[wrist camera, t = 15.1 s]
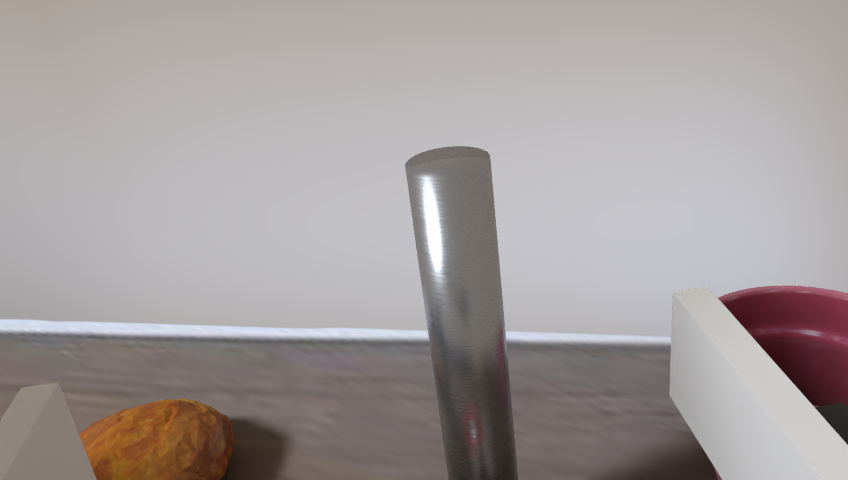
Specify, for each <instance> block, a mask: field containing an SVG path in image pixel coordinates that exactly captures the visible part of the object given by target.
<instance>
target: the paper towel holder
mask: <svg viewBox="0 0 848 480" xmlns="http://www.w3.org/2000/svg"><path fill="white" fill-rule="evenodd" d="M405 167H406V174H407V182H408V189H409V196H410V204H411V211H412V218H413V226H414V233H415V239H416V247H417V254H418V262H419V269H420V276H421V284H422V291H423V298H424V305H425V312H426V320H427V327H428V334H429V342H430V349H431V356H432V363H433V371H434V378H435V385H436V392H437V400H438V407H439V414H440V421H441V429H442V436H443V443H444V450H445V458H446V465H447V472H448V479H449V480H518V473H517V462H516V450H515V438H514V427H513V415H512V404H511V392H510V381H509V369H508V358H507V346H506V335H505V323H504V312H503V300H502V289H501V277H500V266H499V254H498V242H497V231H496V219H495V209H494V197H493V185H492V173H491V162H490V155H489V154H488V153H487V152H486V151H484V150H482V149H479V148H474V147H465V146H462V147H461V146H456V147H444V148H438V149H433V150H429V151H426V152H423V153H420V154H418V155H415V156H414V157H412V158H411V159H409V160H408V161H407V163H406V165H405Z"/></svg>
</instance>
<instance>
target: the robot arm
mask: <svg viewBox="0 0 848 480" xmlns="http://www.w3.org/2000/svg"><path fill="white" fill-rule="evenodd" d="M671 333H672V334H671V363H670V394H669V395H670V397H671V398H672V400H673V402H674V403H675V405H676V406H677V408H678V410H679V411H680V413H681V414H682V416H683V418H684V419H685V421H686V422H687V424H688V426H689V427H690V429H691V430H692V432H693V434H694V435H695V437H696V438H697V440H698V442H699V443H700V445H701V446H702V448H703V450H704V451H705V453H706V454H707V456H708V458H709V459H710V461H711V462H712V464H713V466H714V467H715V469H716V470H717V472H718V474H719V475H720V477H721V478H722V480H848V406H846V405H844V404H843V403H837V404H830V405H824V406H817V407H814V406H813V405H812V404H811V403H810V402H809V401H808V400H807V398H806V397H805V396H804V395H803V394H802V393H801V392H800V390H799V389H798V388H797V387H796V386H795V385H794V384H793V383H792V381H791V380H790V379H789V378H788V377H787V376H786V375H785V374H784V372H783V371H782V370H781V369H780V368H779V367H778V366H777V364H776V363H775V362H774V361H773V360H772V359H771V358H770V357H769V355H768V354H767V353H766V352H765V351H764V350H763V349H762V348H761V346H760V345H759V344H758V343H757V342H756V341H755V340H754V338H753V337H752V336H751V335H750V334H749V333H748V332H747V331H746V329H745V328H744V327H743V326H742V325H741V324H740V323H739V321H738V320H737V319H736V318H735V317H734V316H733V315H732V314H731V312H730V311H729V310H728V309H727V308H726V307H725V306H724V305H723V303H722V302H721V301H720V300H719V299H718V298H717V297H716V296H715V294H714V293H713V292H712V291H711V290H710V289H709V288H708V287H702V288H695V289H688V290H682V291H675V292H673V302H672V332H671ZM0 480H97V479H96V477H95V474H94V472H93V469H92V467H91V464H90V461H89V459H88V456H87V454H86V451H85V449H84V446H83V444H82V441H81V439H80V436H79V434H78V431H77V429H76V426H75V424H74V421H73V418H72V416H71V413H70V411H69V408H68V406H67V403H66V401H65V398H64V396H63V393H62V391H61V388H60V386H59V383H58V382H57V383H50V384H43V385H37V386H30V387H23V388H21V389H20V391H19V392H18V394H17V395H16V397H15V398H14V400H13V402H12V403H11V405H10V406H9V408H8V409H7V411H6V413H5V414H4V416H3V417H2V419H1V420H0Z"/></svg>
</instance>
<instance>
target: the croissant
mask: <svg viewBox="0 0 848 480" xmlns="http://www.w3.org/2000/svg"><path fill="white" fill-rule="evenodd" d="M79 436H80V439H81V441H82V444H83V446H84V449H85V451H86V454H87V456H88V459H89V461H90V464H91V467H92V469H93V472H94V474H95V477H96V479H97V480H221V478H222V477H224V475H225V472H226V470H227V466H228V464H229V461H230V457H231V454H232V453H233V450H234V431H233V427H232V423H231V422H230V420H229V419H228V417H227V416H226V415H223V414H220V412H218V411H217V410H215V409H214V408H212V407H209V406H207V405H204V404H201V403H199V402H197V401H192V400H188V399H178V400H169V399H167V400H161V401H156V402H152V403H148V404H144V405H140V406H137V407H134V408H132V409H124V410H122V411H119V412H117V413H114V414H112V415H110V416H108V417H106V418H104V419H101V420H99V421H97V422H95V423H93V424H92V425H91V426H90V427H88V428H87V429H85V430H84V431H82V432H81V433H79Z"/></svg>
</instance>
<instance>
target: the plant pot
mask: <svg viewBox="0 0 848 480" xmlns="http://www.w3.org/2000/svg"><path fill="white" fill-rule="evenodd" d="M718 299H719V300H720V301H721V302H722V303H723V305H724V306H725V307H726V308H727V309H728V310H729V311H730V312H731V314H732V315H733V316H734V317H735V318H736V319H737V320H738V321H739V323H740V324H741V325H742V326H743V327H744V328H745V329H746V331H747V332H748V333H749V334H750V335H751V336H752V337H753V338H754V340H755V341H756V342H757V343H758V344H759V345H760V346H761V348H762V349H763V350H764V351H765V352H766V353H767V354H768V355H769V357H770V358H771V359H772V360H773V361H774V362H775V363H776V364H777V366H778V367H779V368H780V369H781V370H782V371H783V372H784V374H785V375H786V376H787V377H788V378H789V379H790V380H791V381H792V383H793V384H794V385H795V386H796V387H797V388H798V389H799V390H800V392H801V393H802V394H803V395H804V396H805V397H806V398H807V400H808V401H809V402H810V403H811V404H812V405H813V406H814V407H817V406H824V405H830V404H837V403H843V404H844V405H846V406H848V293H843V292H839V291H834V290H828V289H821V288H814V287H802V286H766V287H756V288H750V289H745V290H740V291H736V292H732V293H729V294H726V295H724V296H721V297H719V298H718ZM715 471H716V475H717V479H718V480H722V478H721V477H720V475H719V474H718V472H717V470H716V469H715Z"/></svg>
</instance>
